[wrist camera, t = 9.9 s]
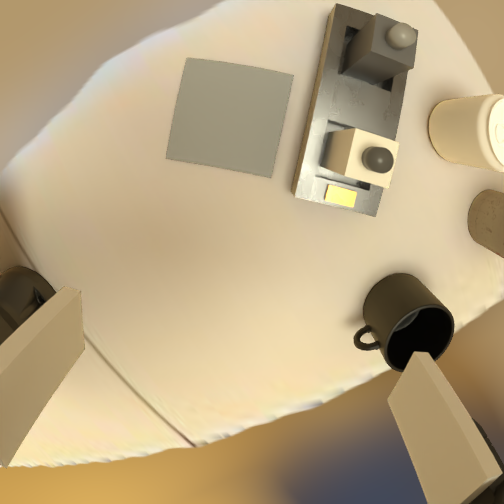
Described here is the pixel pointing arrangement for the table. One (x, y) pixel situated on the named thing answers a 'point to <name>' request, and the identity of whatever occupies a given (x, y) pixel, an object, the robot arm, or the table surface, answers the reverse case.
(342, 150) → the plug
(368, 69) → the twin plug
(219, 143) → the mat
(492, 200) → the thermos bottle
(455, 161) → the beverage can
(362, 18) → the strip
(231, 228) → the table surface
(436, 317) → the mug
